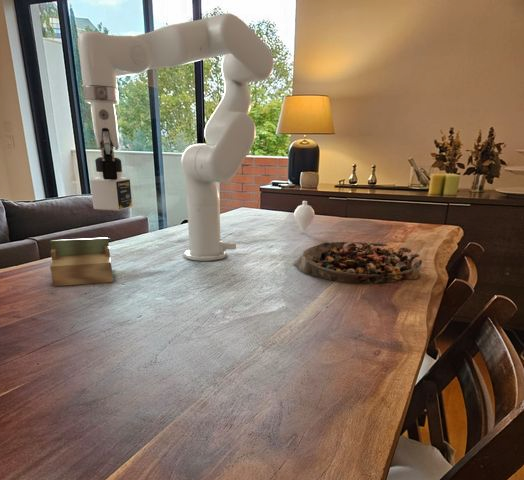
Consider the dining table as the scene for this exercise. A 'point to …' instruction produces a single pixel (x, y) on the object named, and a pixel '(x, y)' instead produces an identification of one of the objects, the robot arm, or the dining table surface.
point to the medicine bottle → (110, 189)
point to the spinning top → (304, 215)
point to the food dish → (358, 263)
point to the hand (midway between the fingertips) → (109, 177)
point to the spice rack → (80, 261)
